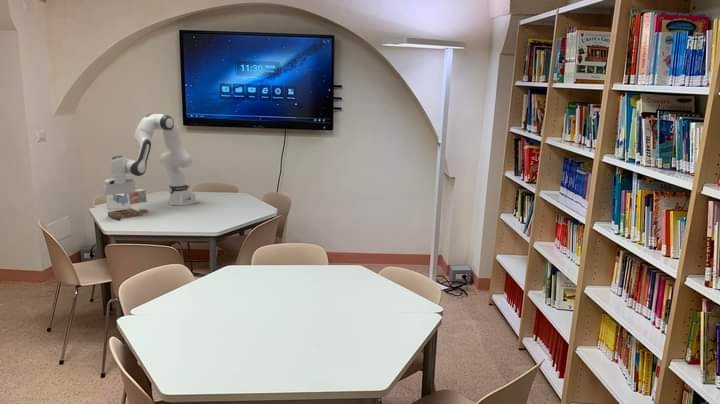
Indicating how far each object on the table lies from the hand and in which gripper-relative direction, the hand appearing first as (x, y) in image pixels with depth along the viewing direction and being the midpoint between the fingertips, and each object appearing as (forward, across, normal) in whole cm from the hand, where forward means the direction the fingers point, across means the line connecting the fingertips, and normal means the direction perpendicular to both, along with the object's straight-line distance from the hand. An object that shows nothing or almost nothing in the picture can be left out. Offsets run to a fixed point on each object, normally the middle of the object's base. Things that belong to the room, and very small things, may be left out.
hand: (120, 200), depth 345 cm
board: (+12, -2, 0) cm, 12 cm away
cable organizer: (+12, -8, -25) cm, 29 cm away
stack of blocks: (+12, -22, -37) cm, 45 cm away
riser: (+11, -16, 0) cm, 19 cm away
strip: (+3, 0, 0) cm, 3 cm away
